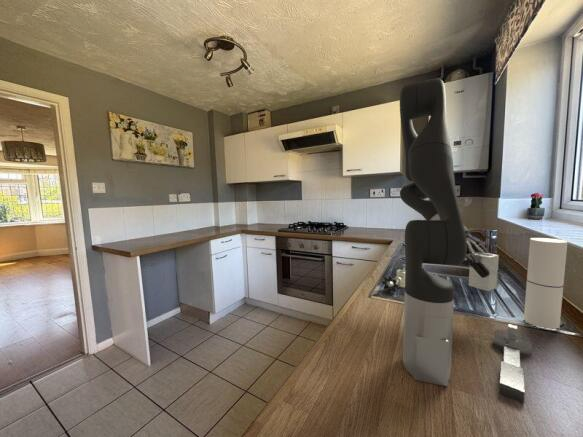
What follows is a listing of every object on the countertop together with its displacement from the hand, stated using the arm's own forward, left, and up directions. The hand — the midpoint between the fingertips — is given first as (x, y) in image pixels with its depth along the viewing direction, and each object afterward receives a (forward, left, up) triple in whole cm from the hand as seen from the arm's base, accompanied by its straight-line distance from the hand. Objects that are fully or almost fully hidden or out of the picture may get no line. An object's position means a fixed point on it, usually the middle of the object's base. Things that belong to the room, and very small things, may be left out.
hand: (491, 274), depth 66 cm
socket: (+1, +1, -4) cm, 5 cm away
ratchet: (-16, +2, -16) cm, 23 cm away
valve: (+25, +21, -16) cm, 36 cm away
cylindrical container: (+7, -15, -16) cm, 23 cm away
